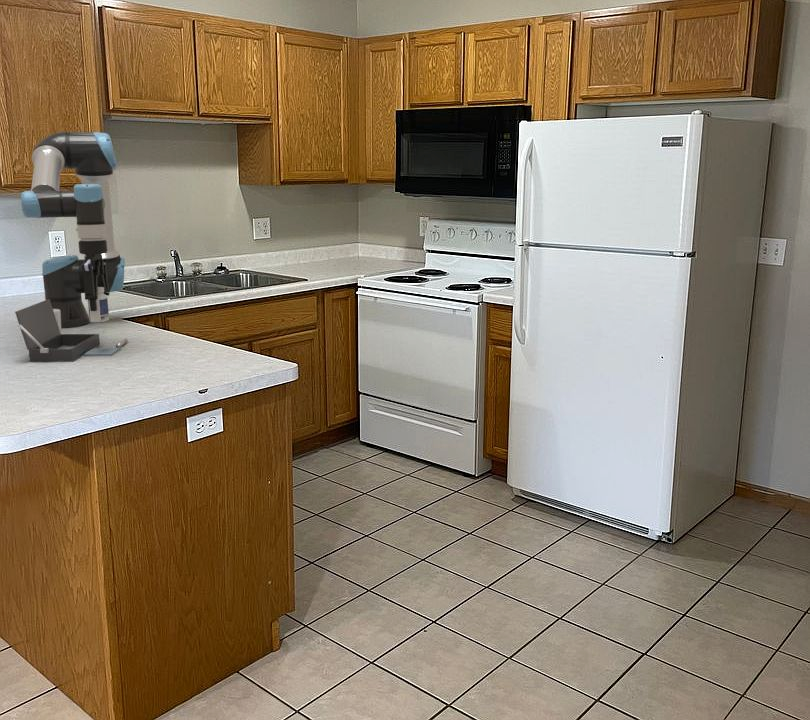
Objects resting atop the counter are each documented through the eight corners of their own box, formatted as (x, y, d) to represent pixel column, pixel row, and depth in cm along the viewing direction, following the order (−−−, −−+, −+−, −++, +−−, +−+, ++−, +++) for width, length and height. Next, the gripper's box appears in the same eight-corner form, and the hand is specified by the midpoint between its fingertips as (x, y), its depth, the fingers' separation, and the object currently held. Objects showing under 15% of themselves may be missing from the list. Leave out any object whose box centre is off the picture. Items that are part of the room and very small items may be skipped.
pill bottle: (111, 319, 240) (109, 286, 237) (105, 322, 234) (102, 288, 232) (93, 319, 240) (90, 286, 237) (86, 322, 234) (83, 288, 232)
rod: (124, 342, 253) (124, 339, 253) (128, 342, 253) (127, 339, 253) (115, 348, 245) (115, 344, 245) (119, 348, 245) (119, 344, 245)
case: (52, 345, 250) (47, 299, 246) (100, 345, 250) (95, 298, 246) (19, 362, 228) (13, 311, 224) (71, 362, 228) (66, 311, 225)
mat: (93, 350, 243) (93, 348, 243) (120, 349, 243) (120, 347, 243) (83, 356, 235) (83, 354, 235) (111, 355, 235) (111, 353, 235)
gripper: (90, 237, 241) (97, 314, 246) (66, 242, 223) (74, 325, 228) (116, 236, 241) (122, 314, 246) (94, 242, 223) (101, 325, 228)
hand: (99, 319), depth 237 cm, fingers closed on pill bottle, 5 cm apart
